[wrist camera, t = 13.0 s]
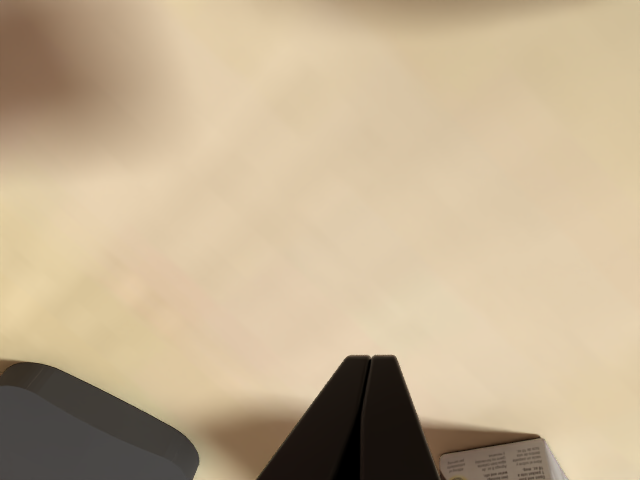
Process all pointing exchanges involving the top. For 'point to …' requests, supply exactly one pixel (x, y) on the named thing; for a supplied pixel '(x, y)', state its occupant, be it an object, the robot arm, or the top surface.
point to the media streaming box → (82, 432)
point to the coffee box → (503, 463)
